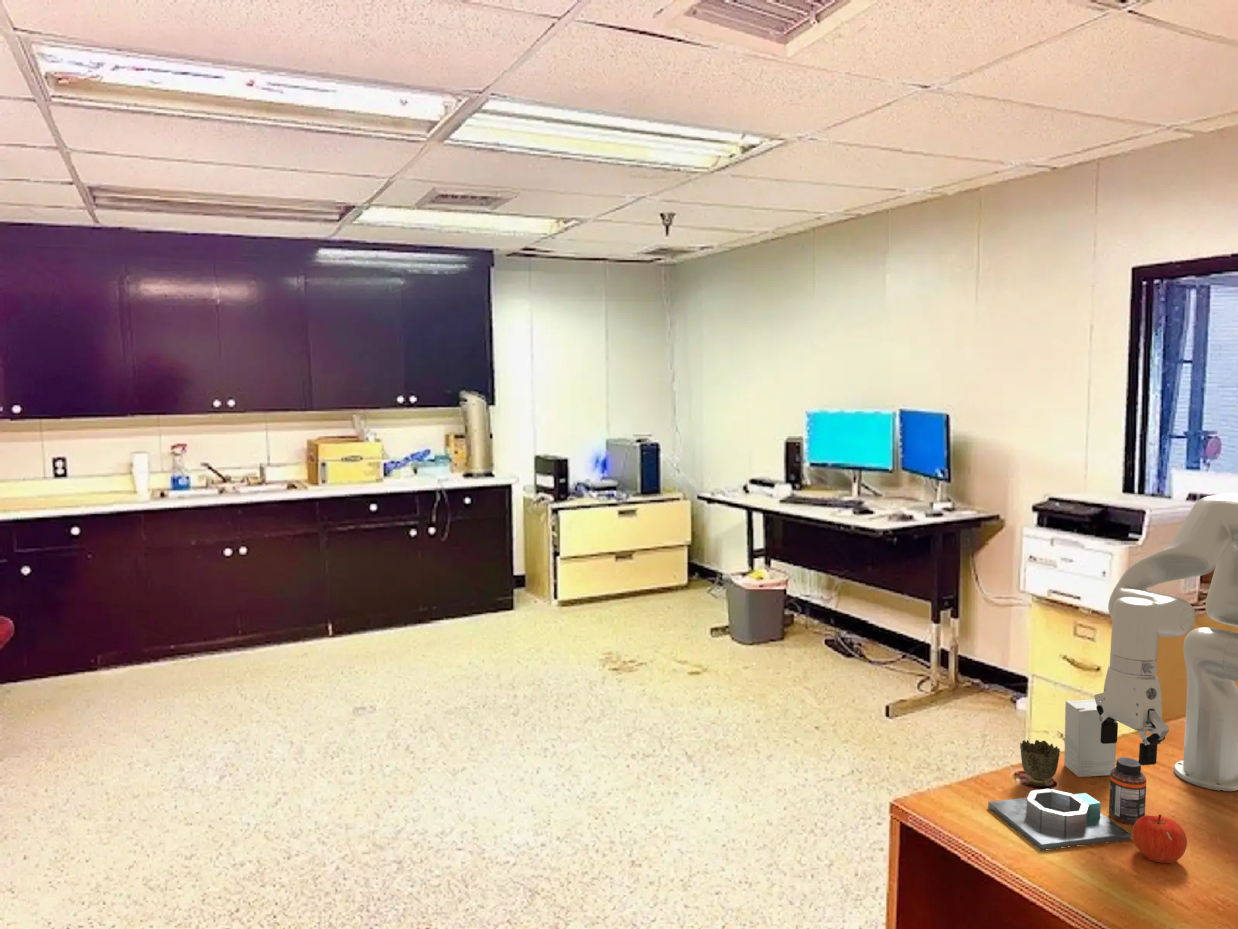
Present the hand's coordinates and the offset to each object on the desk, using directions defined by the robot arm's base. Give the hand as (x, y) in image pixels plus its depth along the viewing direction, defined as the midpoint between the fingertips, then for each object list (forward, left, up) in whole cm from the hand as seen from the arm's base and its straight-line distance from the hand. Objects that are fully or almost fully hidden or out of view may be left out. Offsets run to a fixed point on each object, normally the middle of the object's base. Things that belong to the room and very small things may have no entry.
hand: (1127, 753), depth 164 cm
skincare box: (-8, -19, -13) cm, 25 cm away
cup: (+6, -16, -13) cm, 22 cm away
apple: (+4, +13, -13) cm, 19 cm away
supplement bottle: (-1, 0, -13) cm, 13 cm away
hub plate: (+13, -1, -13) cm, 19 cm away
